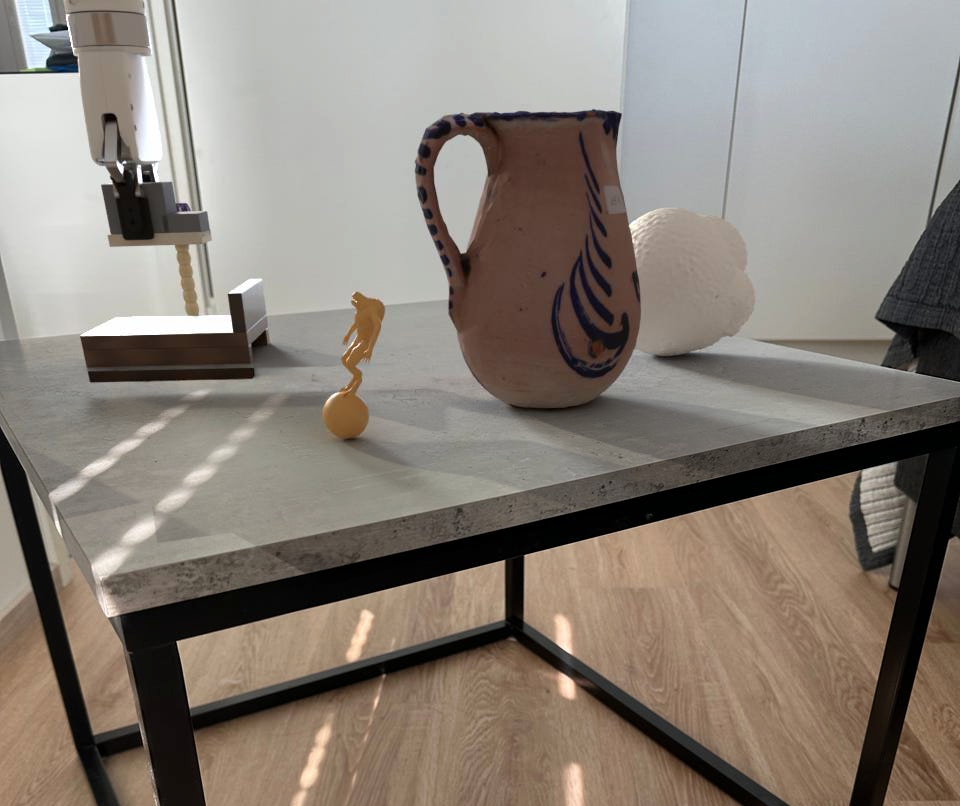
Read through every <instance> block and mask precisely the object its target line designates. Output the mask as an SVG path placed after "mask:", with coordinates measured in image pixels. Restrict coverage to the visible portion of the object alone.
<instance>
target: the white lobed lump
mask: <svg viewBox="0 0 960 806" xmlns="http://www.w3.org/2000/svg"><path fill="white" fill-rule="evenodd" d="M768 216H770V215H768ZM629 227H630V231H631V235H632V241H633V247H634V252H635V258H636V266H637V273H638V278H639V286H640V299H641V320H640V328H639V333H638V337H637V342H636V346H635V348H634V351H635V350H638V351H639V352H642V353H645V354H649V355H653V356H659V357H670V356H679V355H684V354H686V353H691V352H695V351H698V350H699V351H700V350H703V349H706V348H708V347H712V346H713V345H714V344H716V343H718V342H719V341H720V340H722V338H724V337H725V338H726V337H727V336H728V337H730V338H732V337H734V336H736V335H737V334H738V333H740V332H741V329H742V327H743V326H744V325H746V323H747V322H748V321H749V320H750V317H751V316H752V314H753V312H754V310H755V307H754V306H755V303H756V297H755V295H756V291H755V289H754V283H752V280H751V279H750V278H749V276H748V273H747V272H744V271H745V270H746V267H747V264H748V252H747V246H746V242H745V241H744V239H743V237H742V234H740V232H739V230H738V229H737V228H736V227H735V226H733V224H731V222H728V221H727V220H726V219H724V218H721V217H718V216H715V215H710V214H697V213H696V212H694V211H691V210H687V209H684V208H680V207H669V206H667V207H662V208H661V207H660V208H657V209H655V210H650V211H649V212H647V213H646V212H645V214H642V215H641V216H639V217H638V218H637V219H635V220H633V221H632V222H631V223H629Z"/></svg>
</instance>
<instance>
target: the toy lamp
mask: <svg viewBox="0 0 960 806" xmlns="http://www.w3.org/2000/svg"><path fill="white" fill-rule="evenodd" d="M176 208H177V212H191V211H192V210H191V208H190V206H189V204H188V203H187V202H176ZM174 248H175V251H176V261H177V263H178V273H179V276H180V286H181V289H182V290H183V291H182V299H183V301H184V302H185V303H184V309H185V313H186V316H200V306H199V304H198V302H197V301H198V293H197V292H196V289H195V288H196V283H195V279H194V277H193V275H194V272H193V271H194V270H193V267H192V265H191V263H192V257H191V254H190V252H189V250H190V245H174Z"/></svg>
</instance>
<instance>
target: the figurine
mask: <svg viewBox="0 0 960 806" xmlns="http://www.w3.org/2000/svg"><path fill="white" fill-rule="evenodd" d="M351 297H352V299H351V301H350V303H351V306H352V307H354V308H355V313H354V317H353V318H354V322H353V323H352V324H351V326H350V327H349V329H348V331H347V333H346V335H345V336H344V337H343V339H342V343H341V346H347V345H348V343H349V340H350V339H351V336H352V335H353V333H354V332H355V331H356V336H355V337H354V340H353V341H352V343H351V345H349V347H348V348H347V349H346V351H345V352H344V353H343V354H342V356H341V359H340V360H341V363H342V365H343V366H344V367H345V368H346V369H347V371H348V372H349V373H350V374H351V375H352V378H351V379H350V380H349V382H348V383H347V385H346V386H344V387H342V388H340V389H339V390H338V392H336V393H334V394H332V395H331V396H330V397H328V398H327V400H326V401H325V402H324V405H323V408H322V420H323V423H324V426H325V427H326V429H327V430H328V431H329V432H330V433H331V434H332V435H333V436H335V437H337V438H340V439H346V440H347V439H353V438H357V437H358V436H359V435H361V434H362V433H363V432H364V431H365V430H366V428H367V426H368V424H369V421H370V412H369V407H368V405H367V403H366V401H365V400H364V399H363V398H362V397H361V396H360V395H358V394H357V391H358V389H359V388H360V386H361V384H362V382H363V371H362V370H361V369H360V368H358V367H357V365H358V364H360V362H361V361H362V363H363V362H364V364H366V363H367V364H370V361H371V359H372V355H373V350H374V347H375V345H376V342H377V340H378V338H379V335H380V333H381V330H382V322H383V320H384V318H385V313H386V306H385V304H384V302H383V301H382V300H380V299H378V298H375V297H374V298H373V297H367V296H366V295H364V294H362V293H361V292H360V291H355V292H353V294H352V295H351Z"/></svg>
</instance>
